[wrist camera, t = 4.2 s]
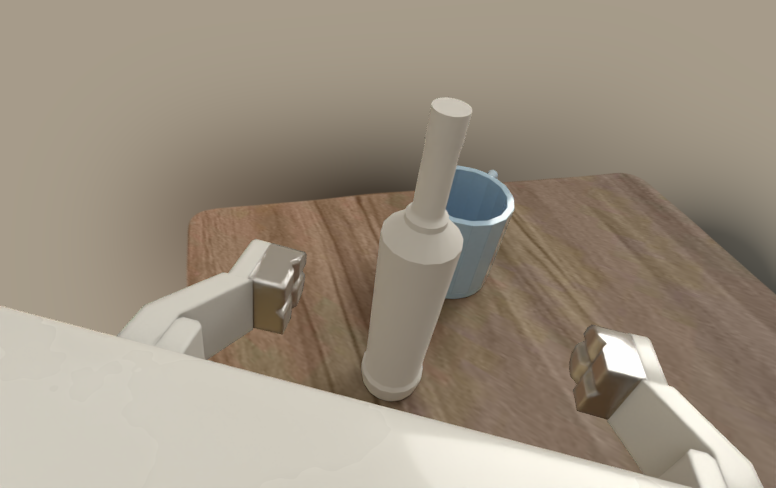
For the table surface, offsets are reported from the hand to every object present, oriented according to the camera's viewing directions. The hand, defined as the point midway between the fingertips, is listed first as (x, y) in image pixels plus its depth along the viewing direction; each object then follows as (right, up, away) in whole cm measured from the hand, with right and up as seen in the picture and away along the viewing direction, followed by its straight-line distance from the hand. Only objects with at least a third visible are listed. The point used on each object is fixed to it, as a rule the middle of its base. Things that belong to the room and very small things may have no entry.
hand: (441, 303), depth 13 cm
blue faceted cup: (+6, 0, +38) cm, 39 cm away
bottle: (-1, -10, +26) cm, 28 cm away
